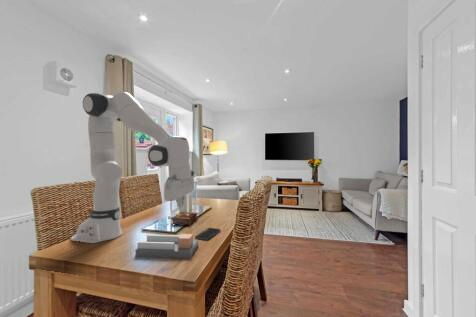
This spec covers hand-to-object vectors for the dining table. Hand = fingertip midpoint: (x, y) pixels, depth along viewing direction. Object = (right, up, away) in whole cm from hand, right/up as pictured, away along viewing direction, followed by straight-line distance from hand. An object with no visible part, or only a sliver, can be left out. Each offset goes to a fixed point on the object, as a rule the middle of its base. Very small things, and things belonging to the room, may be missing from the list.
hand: (180, 206), depth 89 cm
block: (+2, -17, +2) cm, 17 cm away
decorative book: (-9, -20, +43) cm, 48 cm away
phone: (+9, -20, +22) cm, 31 cm away
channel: (-6, -20, +2) cm, 21 cm away
